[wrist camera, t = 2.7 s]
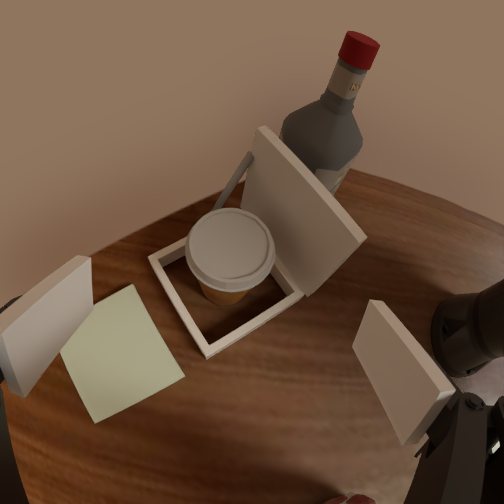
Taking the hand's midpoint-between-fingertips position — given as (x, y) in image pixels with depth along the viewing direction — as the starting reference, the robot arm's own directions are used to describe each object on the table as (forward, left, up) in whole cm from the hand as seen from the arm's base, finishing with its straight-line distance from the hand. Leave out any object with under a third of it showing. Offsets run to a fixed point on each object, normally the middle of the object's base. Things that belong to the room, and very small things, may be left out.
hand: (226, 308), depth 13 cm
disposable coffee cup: (-7, -8, -26) cm, 28 cm away
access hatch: (-7, -8, -26) cm, 28 cm away
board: (+11, -7, -26) cm, 29 cm away
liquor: (-24, -14, -26) cm, 38 cm away
